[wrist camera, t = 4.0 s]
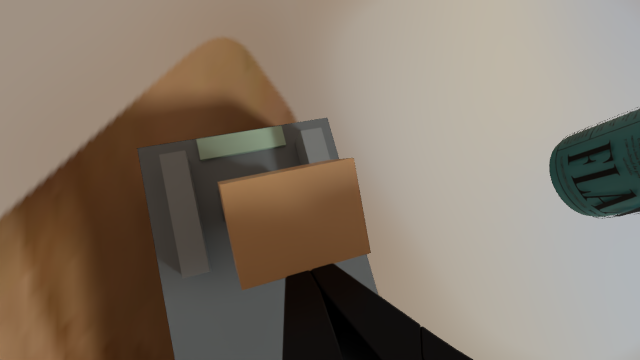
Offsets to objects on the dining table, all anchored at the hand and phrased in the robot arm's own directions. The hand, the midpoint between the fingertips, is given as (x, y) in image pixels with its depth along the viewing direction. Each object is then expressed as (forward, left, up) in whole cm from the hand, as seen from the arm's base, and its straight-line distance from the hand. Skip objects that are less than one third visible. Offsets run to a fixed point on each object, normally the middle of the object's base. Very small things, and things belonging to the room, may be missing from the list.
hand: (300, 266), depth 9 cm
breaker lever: (+2, -2, -6) cm, 7 cm away
